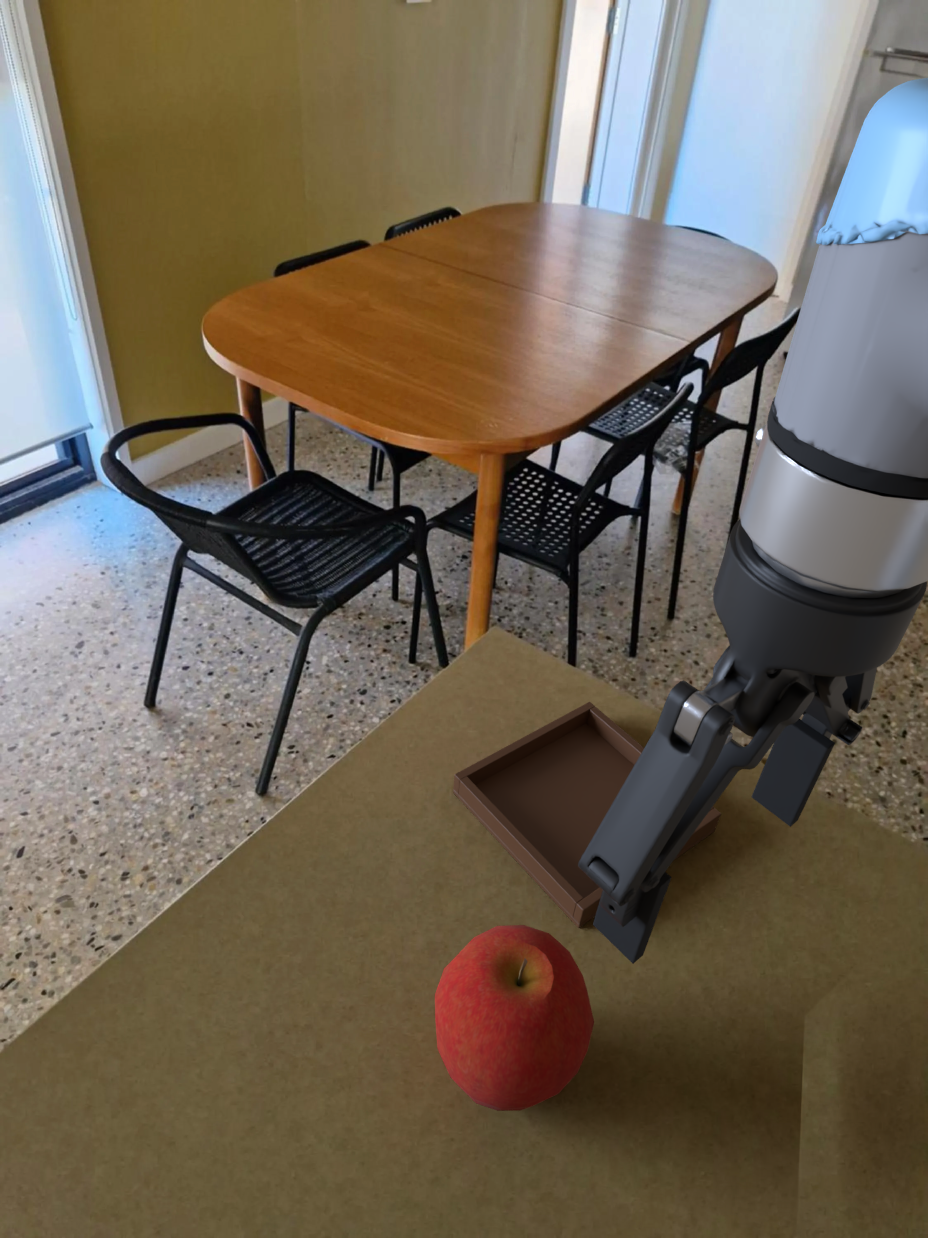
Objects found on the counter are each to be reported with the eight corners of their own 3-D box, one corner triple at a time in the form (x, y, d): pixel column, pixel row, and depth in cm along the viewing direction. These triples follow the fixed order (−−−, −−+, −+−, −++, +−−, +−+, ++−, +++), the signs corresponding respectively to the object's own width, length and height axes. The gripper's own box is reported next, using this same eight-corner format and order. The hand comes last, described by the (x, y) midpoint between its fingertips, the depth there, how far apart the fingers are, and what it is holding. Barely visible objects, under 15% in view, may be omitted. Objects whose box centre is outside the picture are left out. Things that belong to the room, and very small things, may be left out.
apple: (457, 976, 66) (471, 864, 58) (588, 1023, 64) (623, 914, 55) (406, 1114, 59) (412, 1009, 50) (553, 1173, 56) (587, 1074, 48)
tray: (714, 831, 78) (722, 813, 77) (578, 928, 70) (583, 910, 68) (585, 719, 88) (589, 701, 87) (452, 792, 80) (454, 774, 78)
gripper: (901, 425, 43) (775, 728, 57) (534, 610, 30) (482, 949, 43) (1058, 492, 39) (882, 803, 52) (712, 742, 26) (594, 1073, 39)
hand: (701, 870), depth 48 cm, fingers open, 13 cm apart
